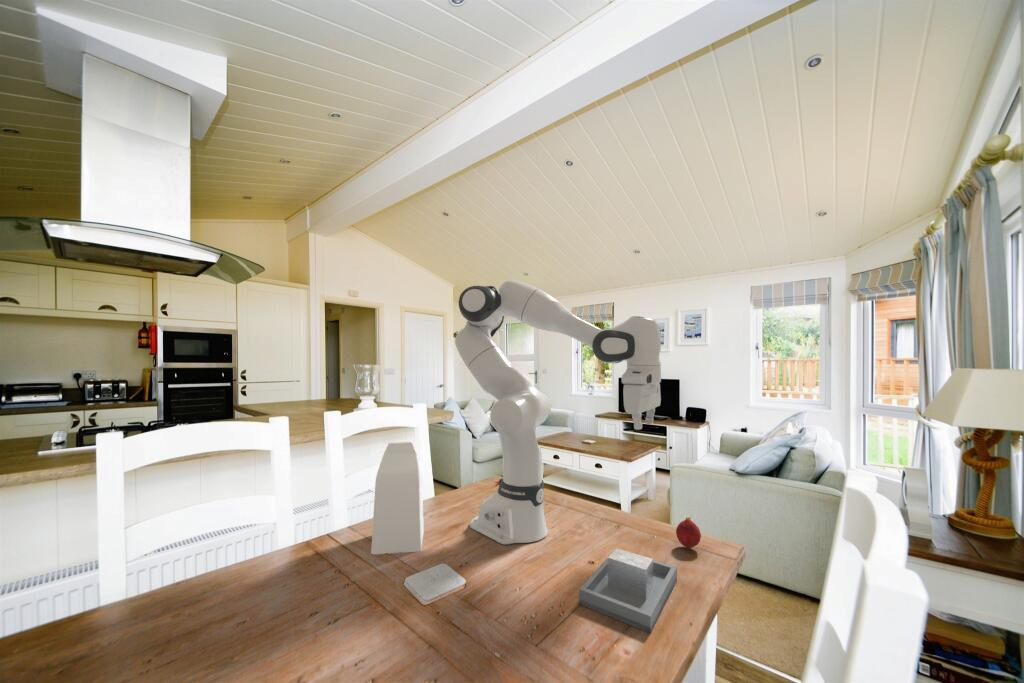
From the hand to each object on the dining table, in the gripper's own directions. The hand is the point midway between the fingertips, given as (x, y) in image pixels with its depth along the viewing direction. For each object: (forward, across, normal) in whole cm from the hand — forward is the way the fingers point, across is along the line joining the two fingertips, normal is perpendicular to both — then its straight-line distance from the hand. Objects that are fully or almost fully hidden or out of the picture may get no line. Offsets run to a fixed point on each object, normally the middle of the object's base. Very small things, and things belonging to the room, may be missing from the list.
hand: (644, 426), depth 109 cm
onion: (+30, -1, +11) cm, 32 cm away
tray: (+30, +26, +5) cm, 40 cm away
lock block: (+29, +26, +5) cm, 40 cm away
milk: (+30, +41, -51) cm, 72 cm away
